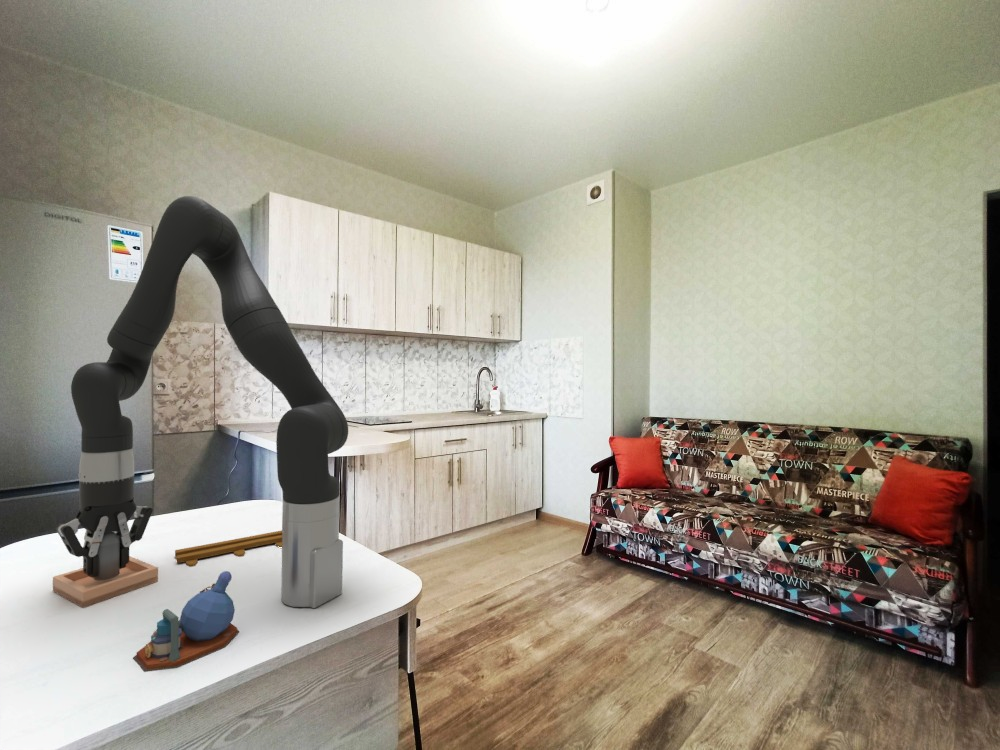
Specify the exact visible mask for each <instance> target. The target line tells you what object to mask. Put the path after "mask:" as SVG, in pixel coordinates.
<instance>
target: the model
mask: <svg viewBox="0 0 1000 750" xmlns="http://www.w3.org/2000/svg"><path fill="white" fill-rule="evenodd" d="M231 580H232V573H231V572H230V571H226V570H225V571H222V572H221V573H219V575H218V578H217V580H216V582H215V583H212V584H211V586H210V585H209V586H207V587H204V589H202V590H201V591H199V593H197V594H196V595H194V596H192V597H191V598H190V599H189V600H187V602H186V604H185V605H184V607H183V608H182V611H181V614H180V616H177V615H176V614H175V613H174V612H172V610H170V609H168V608H166V609H164V610H163V611H162V619H160V620H158V621H157V622H156V629H155V630H154V631H153V633H152V635H150V641H149V642H148V643H145V645H144V646H143V647H142V648H141V649H139V650H138V651H137V652H136V655H134V656H133V657H132V660H133V661H135V662H136V664H137V665H138V666H139V667H140V668H141V671H143V672H145V673H146V672H153V671H162V670H171V669H178V668H180V667H182V666H184V665H187V664H190V663H193V662H194V661H197V660H200V659H201V658H203V657H204V658H205V657H206V656H209V655H211V654H213V653H215V652H217V651H220V650H223V649H224V648H225V649H226V647H227V646H229V644H230V643H231V642H232V641H233V640H234V639H235V638H236V637H237V636H238V634H239V633H240V631H239V630H238V627H237V626H235V624H232V621H233V620H234V616H235V610H236V609H235V604H234V600H233V599H232V598H231V597H230V596H229V594H228V593H227V588H228V586H229V584H230V582H231ZM179 617H180V618H179Z"/></svg>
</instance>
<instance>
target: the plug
mask: <svg viewBox="0 0 1000 750" xmlns="http://www.w3.org/2000/svg"><path fill="white" fill-rule="evenodd" d="M96 555H98V576H96V577H93V579H94V580H106V579H110V578H113V577H116V576H118V575H119V574H120V538H119V536H118V534H116V533H115V532H109V533H106V534H104V535H103V538H102V541H101V542H100V544H99V548H98V551H97V554H96Z"/></svg>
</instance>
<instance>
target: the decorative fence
mask: <svg viewBox="0 0 1000 750" xmlns="http://www.w3.org/2000/svg"><path fill="white" fill-rule="evenodd" d="M274 543H275V544H276V545H277V546H279V547H282V530H277V531H272V532H266V533H261V534H256V535H251V536H245V537H240V538H234V539H230V540H223V541H219V542H213V543H208V544H203V545H195V546H192V547H191V546H190V547H186V548H185V547H184V548H179V549H175V550H174V554H175V559H176V564H178V563H184V562H185V565H186V567H190V568H192V567H196V566H197V564H198V559H204V558H208V557H213V556H219V555H223V554H228V553H233V554H234V556H236V557H239V558H240V557H244V555H245V553H246V552H245V551H246V550H245V549H251V548H255V547H259V546H265V545H266V546H267V545H272V544H274ZM275 544H274V545H275ZM276 545H275V546H276ZM277 546H276V547H277ZM279 547H278V548H279Z"/></svg>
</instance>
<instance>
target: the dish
mask: <svg viewBox="0 0 1000 750" xmlns="http://www.w3.org/2000/svg"><path fill="white" fill-rule="evenodd" d="M157 582H159V567H157V566H154V565H152V564H150V563H149V562H148V563H147V562H145V561H143V560H140V559H138V558H136V557H133V556H130V555H129V562H128V564H126V567H125V568H122V569H120V574H119V575H118V576H116V577H113V578H110V579H106V580H94V579H93V578H91V577H89V576H88V575H86V574H85V573H84V572H83V567H82V568H78V569H75V570H72V571H67V572H65V573H62V574H57V575H54V576H52V592H53V591H54V593H55V592H56V593H55V594H57V593H58V594H57V595H59V596H61V597H62V596H63V598H65V599H66V600H68V601H69V602H72V603H74V605H75V604H76V605H77V606H79V607H81V608H86V607H90V606H92V605H95V604H98V603H101V602H103V601H106V600H109V599H112V598H114V597H118V596H120V595H123V594H126V593H129V592H131V591H134V590H137V589H140V588H143V587H146V586H148V585H151V584H154V583H157Z"/></svg>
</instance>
